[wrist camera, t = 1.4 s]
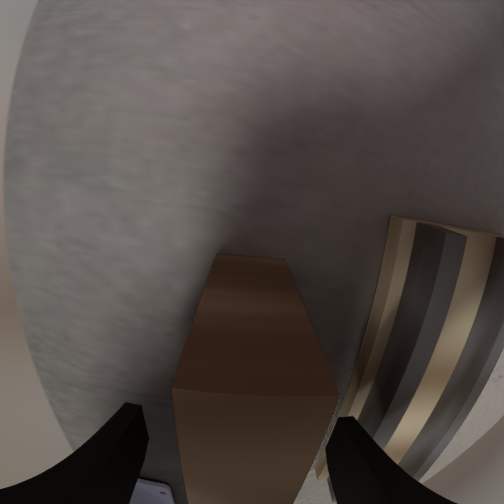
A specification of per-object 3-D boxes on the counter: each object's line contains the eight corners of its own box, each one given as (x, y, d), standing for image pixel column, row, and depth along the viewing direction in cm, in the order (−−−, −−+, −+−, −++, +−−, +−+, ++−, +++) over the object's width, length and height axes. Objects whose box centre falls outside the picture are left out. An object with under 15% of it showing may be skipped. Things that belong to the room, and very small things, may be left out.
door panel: (259, 459, 14) (264, 563, 7) (211, 456, 14) (202, 561, 7) (292, 258, 11) (358, 393, 4) (216, 253, 10) (171, 387, 4)
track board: (410, 452, 14) (424, 480, 12) (314, 467, 14) (322, 503, 11) (501, 235, 10) (540, 250, 8) (390, 215, 10) (431, 230, 7)
